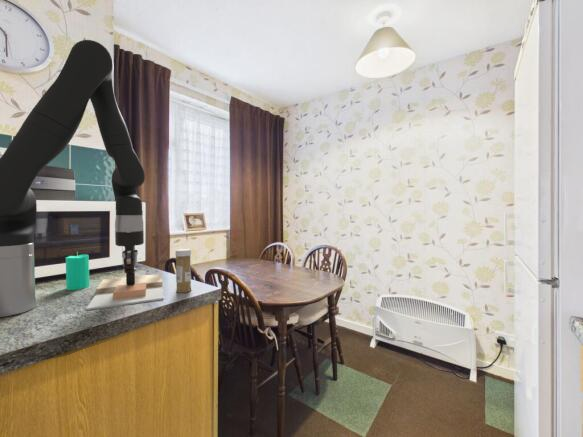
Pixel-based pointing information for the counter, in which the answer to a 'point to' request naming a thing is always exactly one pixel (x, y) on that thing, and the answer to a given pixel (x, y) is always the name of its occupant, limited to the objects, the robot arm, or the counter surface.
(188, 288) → the sprinkles bottle
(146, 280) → the deck
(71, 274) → the candle
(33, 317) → the counter surface
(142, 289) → the tile
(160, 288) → the mat
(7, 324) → the counter surface
